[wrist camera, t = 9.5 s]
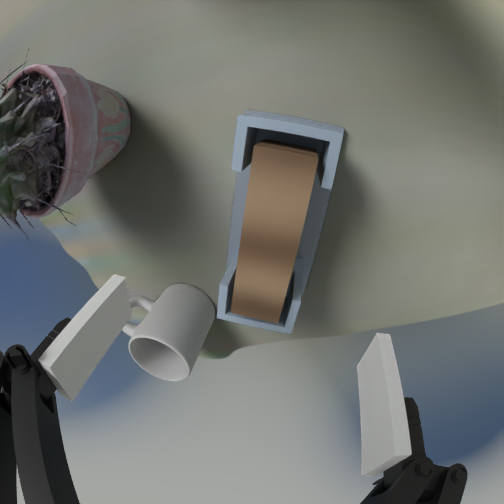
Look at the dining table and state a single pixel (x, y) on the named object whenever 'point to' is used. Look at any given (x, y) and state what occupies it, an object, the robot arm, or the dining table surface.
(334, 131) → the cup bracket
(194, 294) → the mug
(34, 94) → the potted plant
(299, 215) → the tapered block
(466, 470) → the robot arm
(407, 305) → the dining table surface
